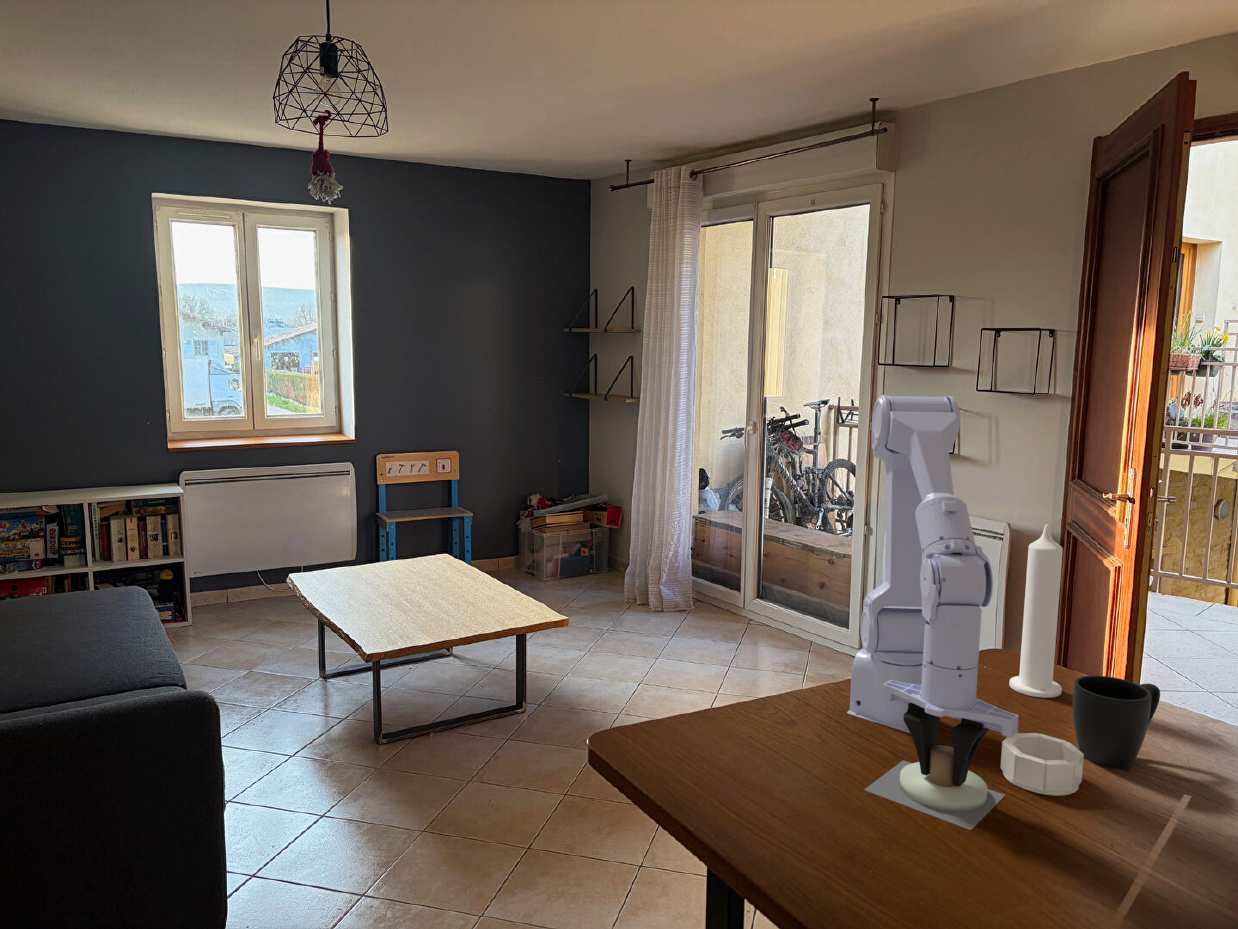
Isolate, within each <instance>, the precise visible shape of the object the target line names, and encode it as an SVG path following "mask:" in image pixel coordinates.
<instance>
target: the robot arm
mask: <svg viewBox="0 0 1238 929" xmlns="http://www.w3.org/2000/svg"><path fill="white" fill-rule="evenodd" d="M873 405H874V406H873V411H872V415H871V449H872V455H873V457H875V458H876V459H879V460H881V461H883V463H884V468H885V473H886V488H885V489H886V496H885V501H886V503H885V505H886V506H885V509H886V510H885V557H884V558H885V561H884V562H885V566H884V567H885V568H884V582H883V583H882V584H879V585H878V586H877V587H876V588H874V589H872V590H871V591H870V592H868V594H866V595H865V596H864V599H863V603H862V604H863V606H862V607H863V608H862V613H861V616H860V618H861V619H860V638H861V644H862V647H863V648H861V649H860V650H859V651H858V652H857V653H856V655H855V657H854V658H853V659H854V660H853V663H852V667H851V675H850V692H849V693H850V697H849V710H848V711H847V712H846V713H847V714H848V715H851V716H855V717H858V718H861V719H864V720H866V721H869V722H873V723H877V724H880V725H883V726H886V727H888V728H889V727H890V728H892V729H896V730H899V731H901V732H905V733H908V734H910V735H911V739H912V741H913V744H914V746H915V749H916V750H915V751H916V754H917V758H918V762H919V763H920V769H921V774H923V775H926V776H927V775H928V774H929V768H930V751H931V747H932V746H935V745H937V738H938V730H939V726H940V721H941V720H940V719H941V718H943V717H948V718H952V719H956V720H959V721H960V723H957V724H956V725H955V726H954V727H953V728H952V729H951V736H952V737H951V738H952V744H953V745H952V746H953V748H954V765H953V775H952V781H953V785H955V786H958V787H960V786H961V785H962V784H963V783H964V782H965V781H966V777H967V773H968V770H969V771H970V766H971V763H972V761H973V759H974V756H975V754H976V752H977V750H978V749H979V747H980V744H981V743H982V741H983V740H984V738H985V737H986V735H987V733H988V732H989V731H990V730H992V731H996V732H999V733H1000V734H1001V735H1002V736H1004V737H1006V738H1007V737H1010V738H1011V737H1012V736H1014V735H1015V734H1016V733H1019V732H1018V729H1019V717H1020V716H1019V714H1015V713H1012V712H1010V711H1007V710H1004V709H1001V708H999V707H998V706H995V705H993V704H990V703H988V702H986V701H984V700H981V699H979V698H978V697H977V687H978V670H979V657H980V656H979V655H980V641H981V639H980V638H981V629H982V628H981V627H982V626H981V625H982V612H983V610H982V608H986V607H987V606H989V604H990V602H991V600H992V596H993V588H994V580H993V579H994V578H993V571H992V565H991V562H990V559H989V556H987V555H986V554H985V553H984V551H983V548H982V547H981V545H976V541H975V537H974V532H973V528H972V524H971V519H970V515H969V512H968V508H967V507H968V506H967V504H966V502H964V500H962V499H961V498H959V497H957V496H955V495H954V484H953V476H952V469H951V468H952V467H951V460H950V457H951V456H950V451H952V449H953V447H954V444H955V441H956V440H957V437H958V436H959V431H960V427H961V410H960V405H959V403H958V402H957V401H956V399H955V397H954V396H952V395H946V396H908V395H907V396H900V395H899V396H898V395H897V396H895V395H891V396H890V395H886V394H882V395H880V396H879V397H878V398H877V399H876V401H875V402H874V404H873ZM905 607H906V608H905ZM981 607H982V608H981Z"/></svg>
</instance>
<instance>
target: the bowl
mask: <svg viewBox="0 0 1238 929" xmlns="http://www.w3.org/2000/svg"><path fill="white" fill-rule="evenodd" d="M1084 760H1085V759H1084V755H1083V753H1082V752H1081V751H1080V750H1079V748H1077V747H1076V746H1074V745H1073V744H1072V743H1071V742H1068V741H1067V740H1065V739H1064V740H1063V739H1061V738H1057V737H1053V736H1051V735H1046V734H1043V733H1038V732H1029V733H1028V732H1026V733H1025V732H1021V733H1020V732H1017V733H1016V734H1015V735H1014V736H1012V737H1011V738H1010V737H1007V736H1006V738H1005V739H1004V740H1002V742H1001V755H1000V769H1001V770H1002V774H1003V776H1004V777H1005V778H1006V780H1007V781H1008V782H1010V783H1011V784H1013V785H1015V786H1017V787H1019V788H1021V789H1022V790H1023V789H1024V790H1027V791H1029V792H1033V793H1036V794H1040V795H1041V794H1042V795H1047V796H1066V795H1071V794H1073V793H1076V792H1077V791H1078V790H1079V788H1080V784H1081V783H1082V782H1083V771H1084V770H1083V769H1084Z"/></svg>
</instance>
